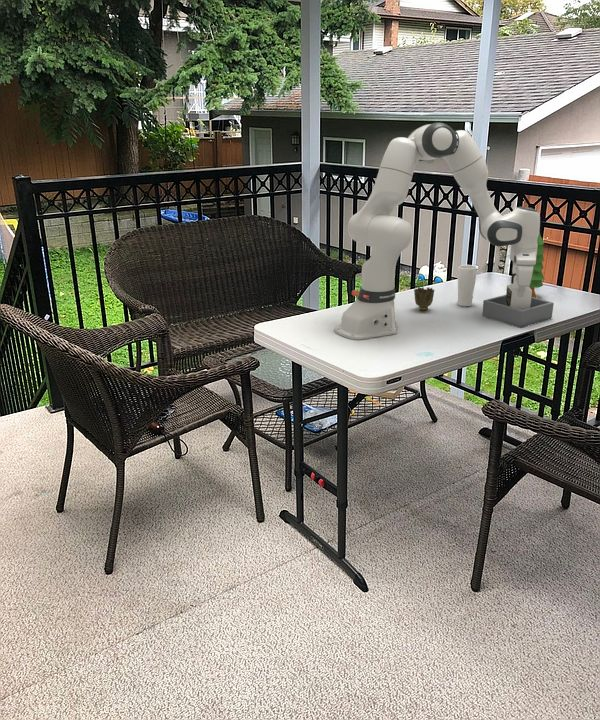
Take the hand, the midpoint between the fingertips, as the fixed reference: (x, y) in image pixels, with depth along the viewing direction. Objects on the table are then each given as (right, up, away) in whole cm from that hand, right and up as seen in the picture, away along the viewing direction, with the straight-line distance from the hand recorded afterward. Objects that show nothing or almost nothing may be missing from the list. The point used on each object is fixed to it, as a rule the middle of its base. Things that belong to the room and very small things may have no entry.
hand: (518, 293), depth 226 cm
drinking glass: (-15, -3, +19) cm, 24 cm away
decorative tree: (+13, +1, +27) cm, 30 cm away
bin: (0, -8, +3) cm, 9 cm away
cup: (-31, -5, +14) cm, 35 cm away
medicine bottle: (0, -5, +2) cm, 5 cm away
